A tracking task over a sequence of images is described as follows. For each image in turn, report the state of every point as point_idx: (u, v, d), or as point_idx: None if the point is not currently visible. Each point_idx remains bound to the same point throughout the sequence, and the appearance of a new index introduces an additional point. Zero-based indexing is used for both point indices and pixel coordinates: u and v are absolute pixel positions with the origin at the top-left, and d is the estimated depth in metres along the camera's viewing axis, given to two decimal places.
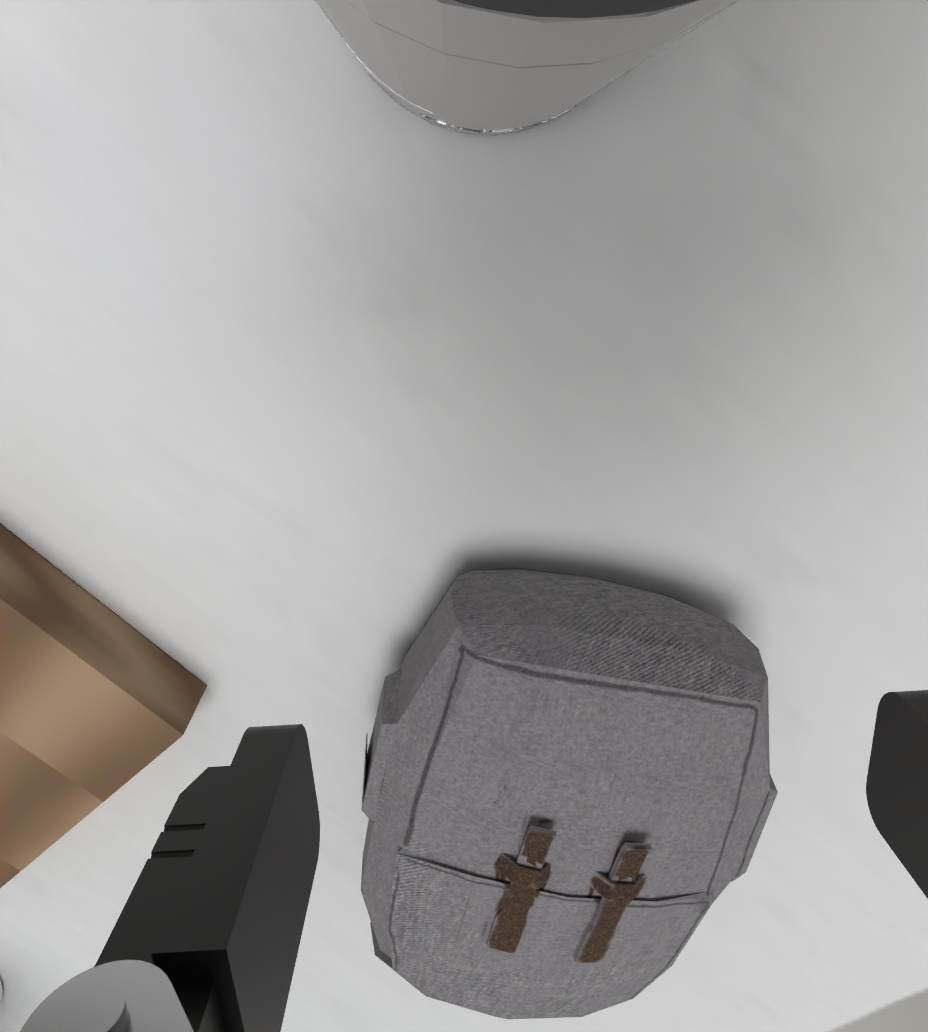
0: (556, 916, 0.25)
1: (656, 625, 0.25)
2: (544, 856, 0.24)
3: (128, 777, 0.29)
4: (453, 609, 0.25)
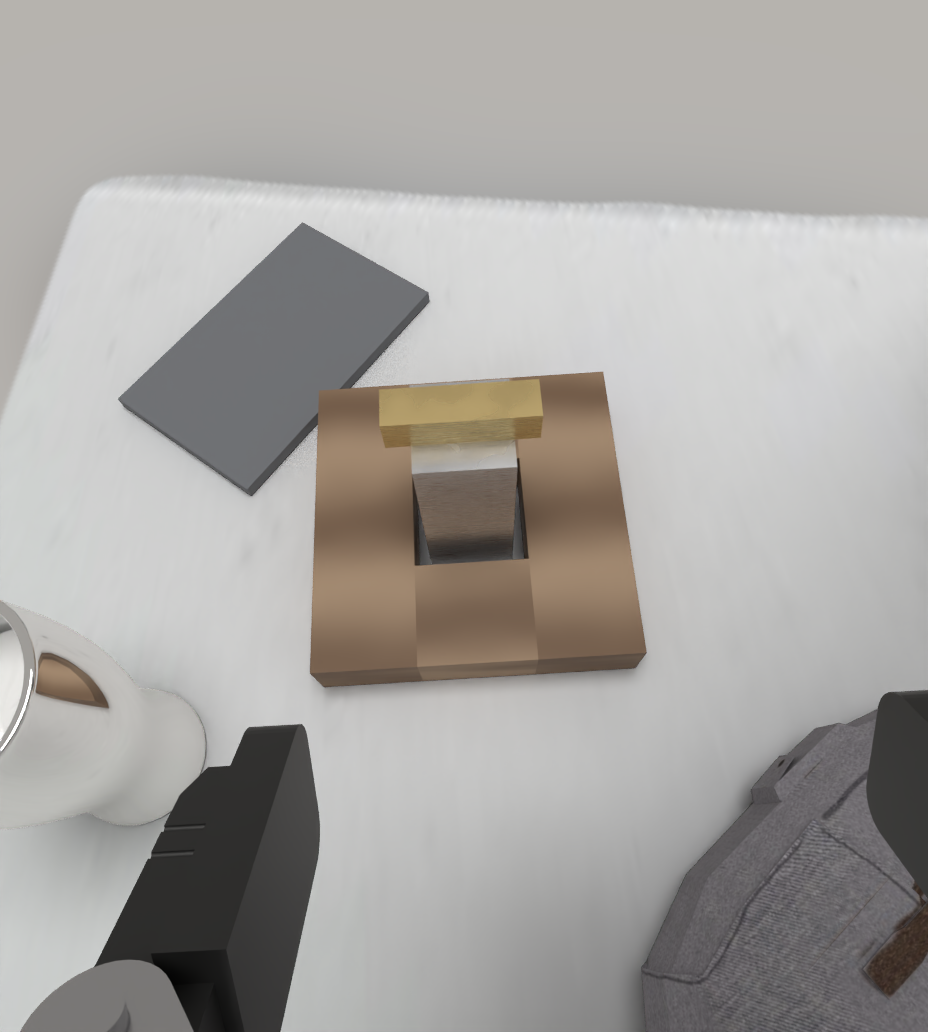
0: None
1: None
2: None
3: (576, 654, 0.33)
4: None
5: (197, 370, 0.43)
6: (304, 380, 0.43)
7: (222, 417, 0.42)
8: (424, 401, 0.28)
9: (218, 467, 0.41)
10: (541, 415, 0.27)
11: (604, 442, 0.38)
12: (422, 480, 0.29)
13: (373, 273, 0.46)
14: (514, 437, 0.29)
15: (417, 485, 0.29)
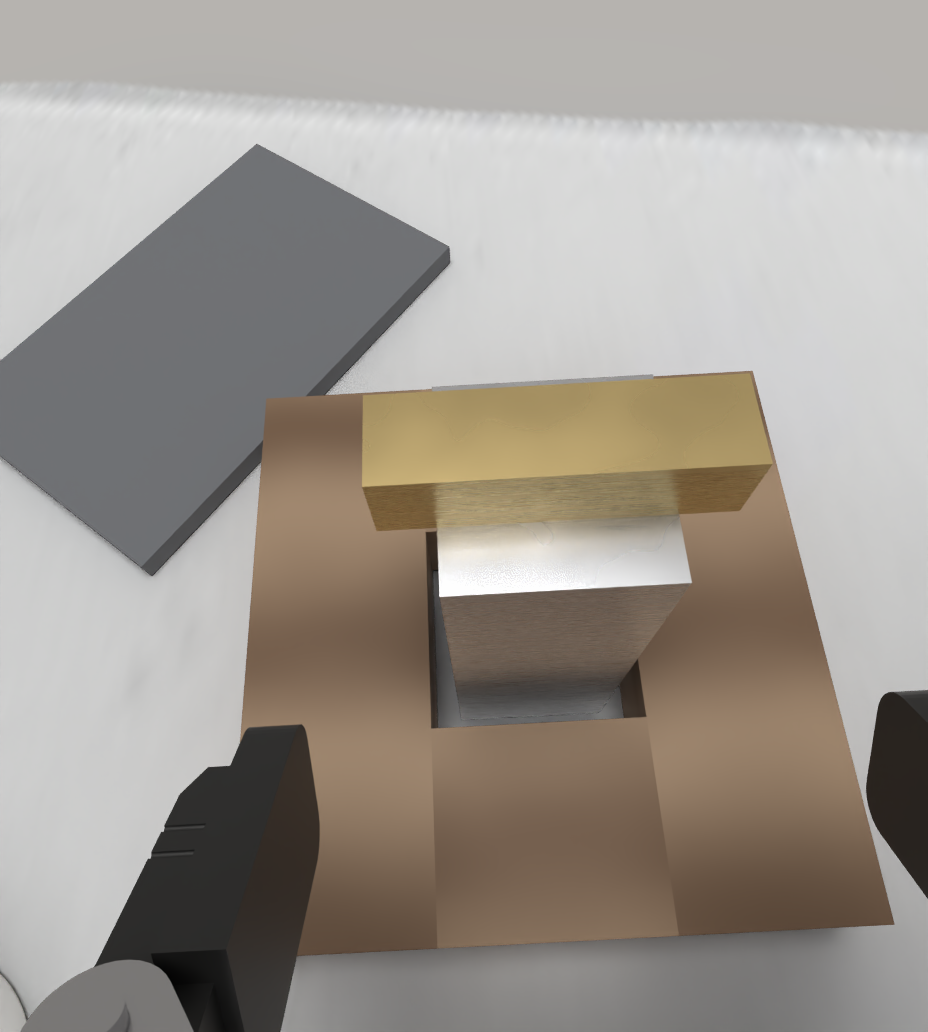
0: None
1: None
2: None
3: (754, 926, 0.17)
4: None
5: (75, 364, 0.27)
6: (248, 382, 0.26)
7: (110, 442, 0.25)
8: (473, 425, 0.11)
9: (95, 527, 0.24)
10: (768, 463, 0.11)
11: (766, 494, 0.21)
12: (462, 608, 0.12)
13: (363, 218, 0.29)
14: (680, 510, 0.12)
15: (449, 615, 0.13)
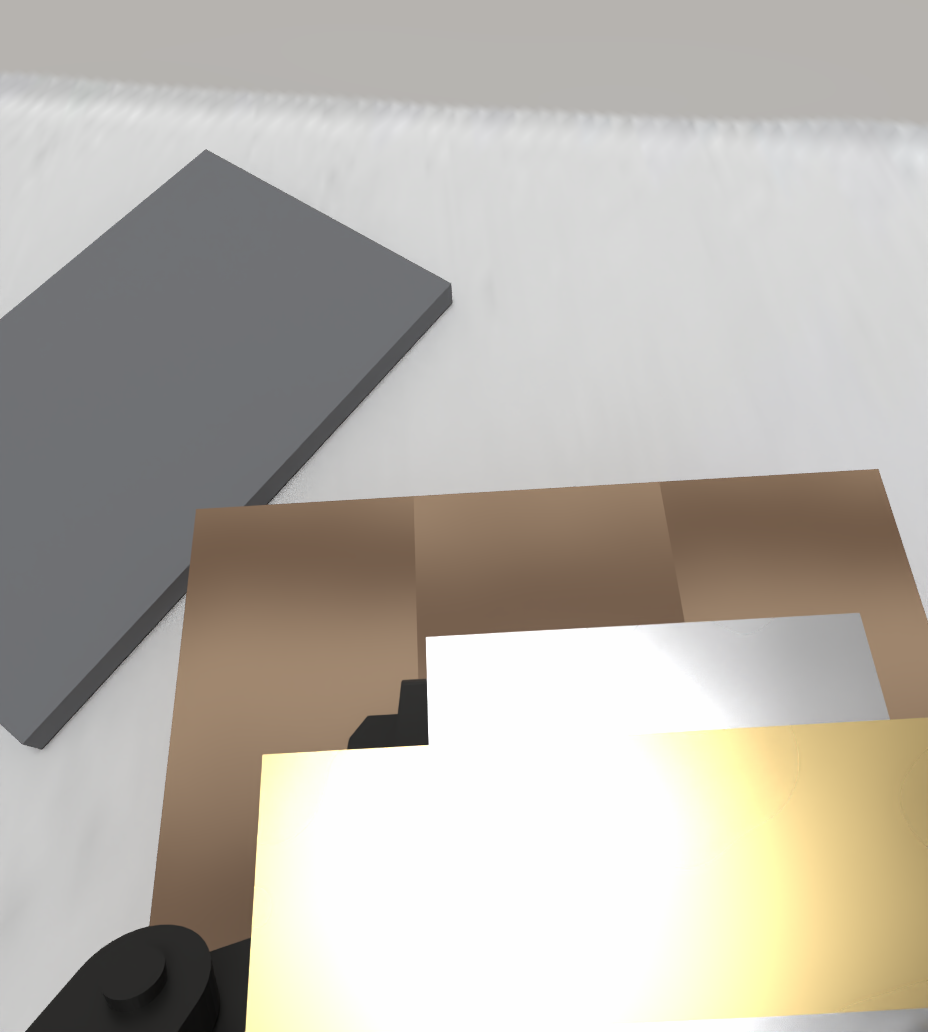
0: None
1: None
2: None
3: None
4: None
5: None
6: (182, 470, 0.19)
7: None
8: (524, 847, 0.05)
9: None
10: None
11: (915, 661, 0.15)
12: None
13: (340, 245, 0.23)
14: None
15: None
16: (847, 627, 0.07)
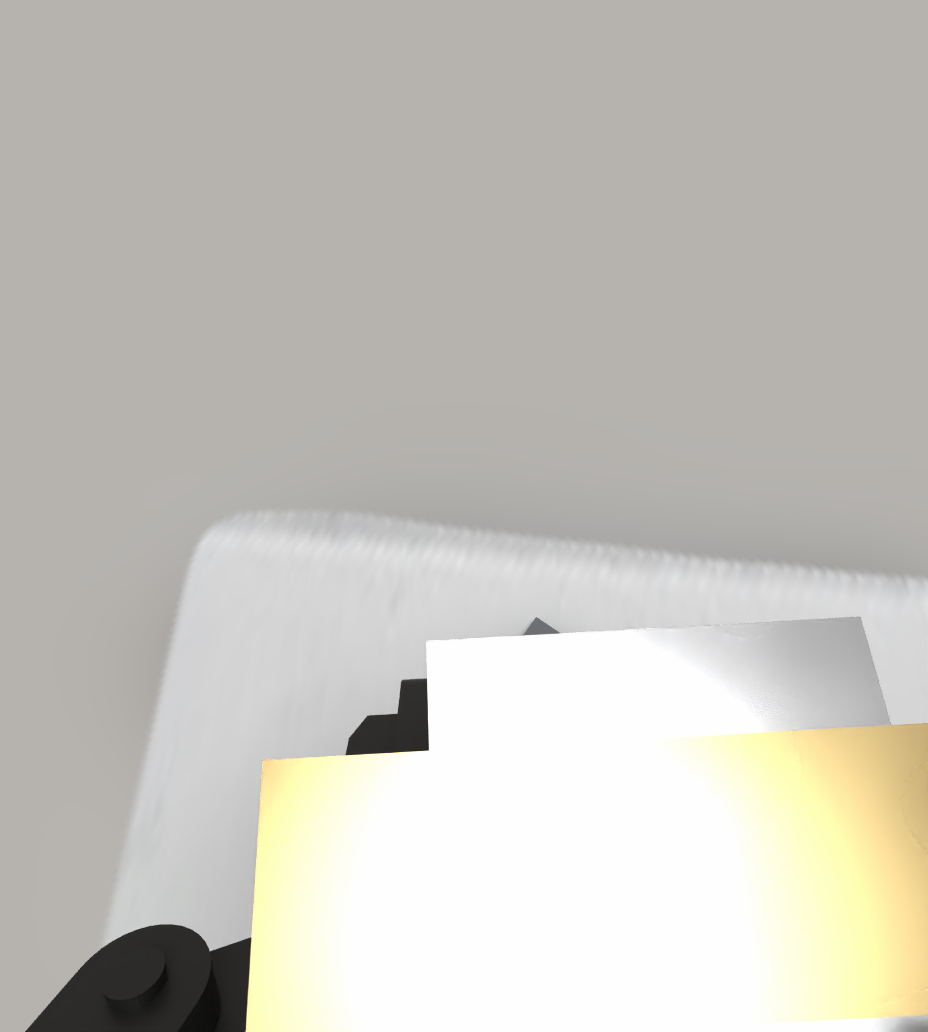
0: None
1: None
2: None
3: None
4: None
5: None
6: None
7: None
8: (525, 853, 0.05)
9: None
10: None
11: None
12: None
13: None
14: None
15: None
16: (848, 631, 0.07)
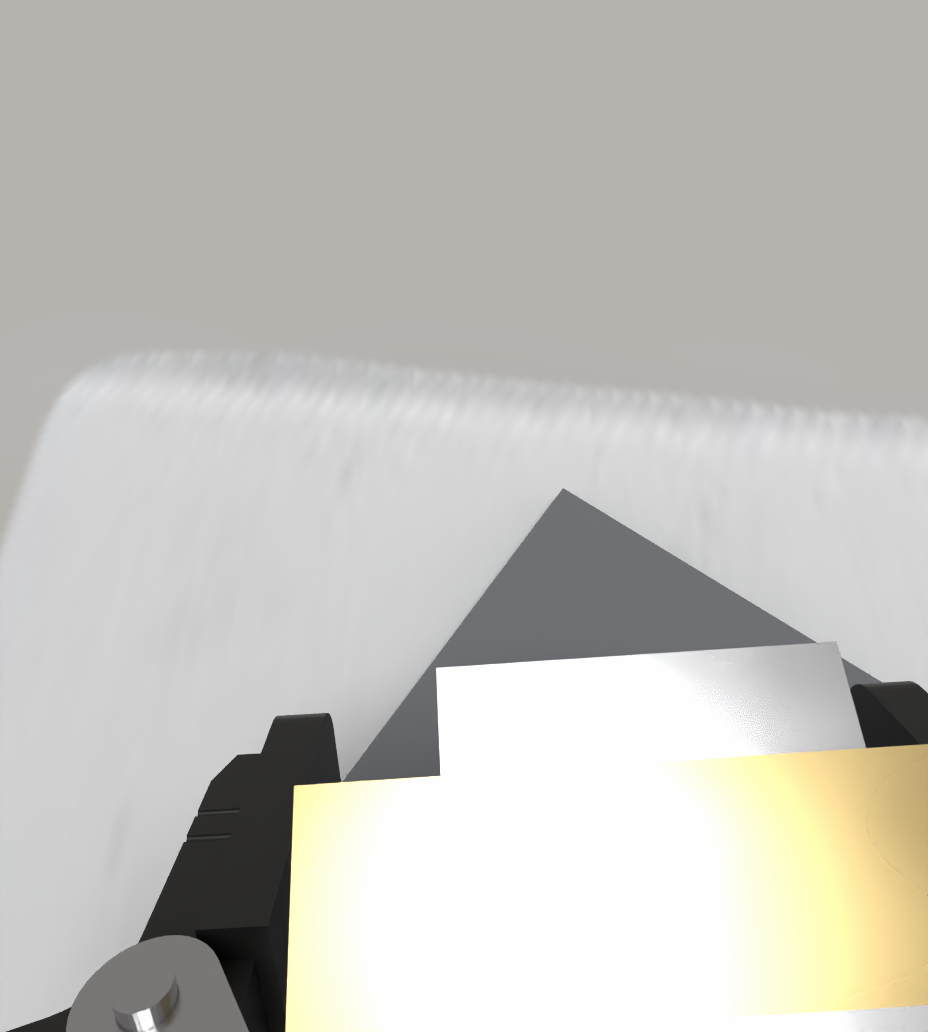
0: None
1: None
2: None
3: None
4: None
5: None
6: None
7: None
8: (530, 868, 0.05)
9: None
10: None
11: None
12: None
13: (764, 640, 0.19)
14: None
15: None
16: (825, 655, 0.07)
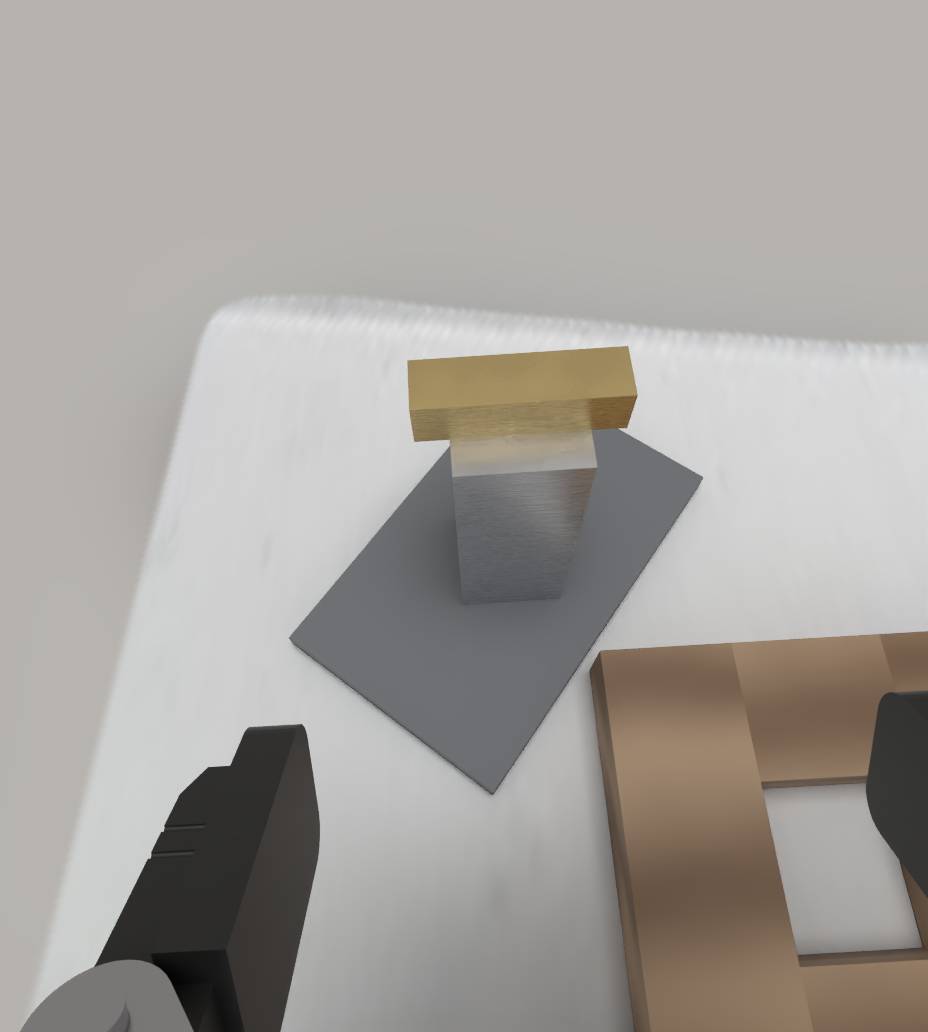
0: None
1: None
2: None
3: None
4: None
5: (396, 593, 0.31)
6: (551, 612, 0.30)
7: (442, 671, 0.29)
8: (471, 376, 0.20)
9: (446, 755, 0.28)
10: (635, 395, 0.20)
11: None
12: (465, 486, 0.21)
13: (623, 447, 0.34)
14: (591, 427, 0.21)
15: (457, 492, 0.22)
16: None
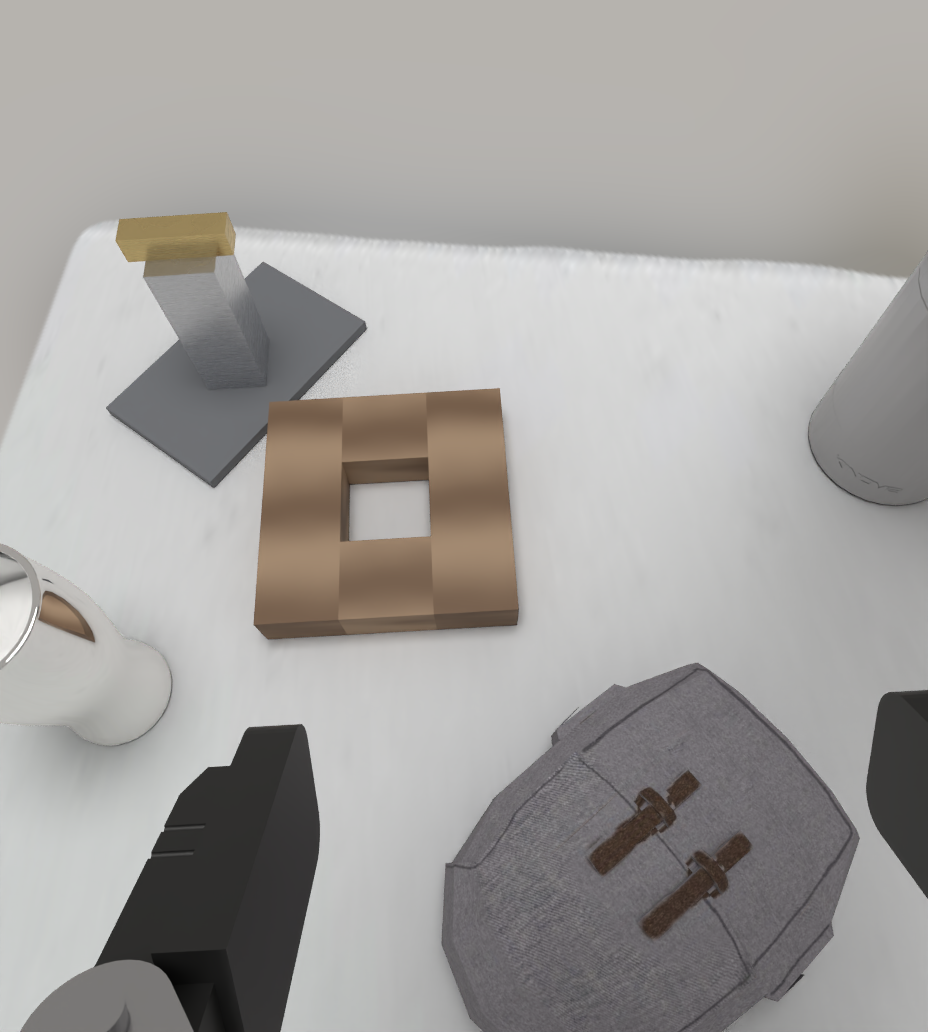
0: (654, 863, 0.32)
1: None
2: (681, 800, 0.33)
3: (463, 610, 0.42)
4: (691, 664, 0.40)
5: (171, 384, 0.52)
6: (260, 393, 0.52)
7: (191, 423, 0.51)
8: (148, 226, 0.42)
9: (186, 464, 0.50)
10: (223, 233, 0.41)
11: (496, 445, 0.47)
12: (153, 284, 0.43)
13: (320, 305, 0.55)
14: (214, 254, 0.42)
15: (152, 289, 0.43)
16: None
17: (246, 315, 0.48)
